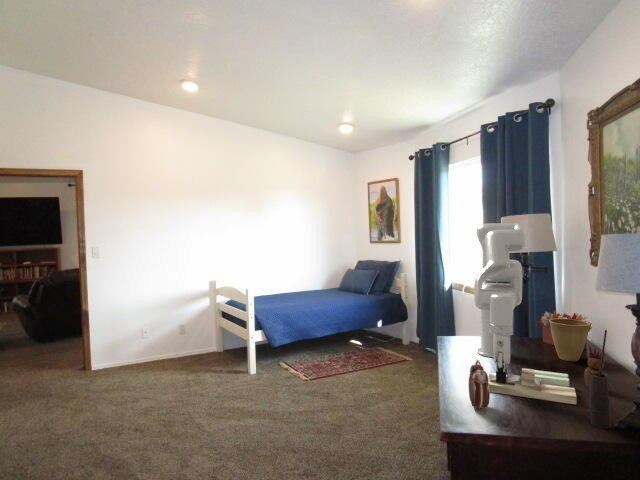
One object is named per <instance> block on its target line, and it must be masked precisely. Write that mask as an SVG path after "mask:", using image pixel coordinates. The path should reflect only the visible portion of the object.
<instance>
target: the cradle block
mask: <svg viewBox="0 0 640 480" xmlns="http://www.w3.org/2000/svg"><path fill="white" fill-rule="evenodd" d="M534 370H535V378H540V379H541V384H549V385H556V386H563V387H570V378H569V374H568V373H560V372H553V371H546V370H545V371H544V370H538V369H537V370H536V369H534Z"/></svg>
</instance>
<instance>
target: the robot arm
mask: <svg viewBox="0 0 640 480" xmlns="http://www.w3.org/2000/svg"><path fill="white" fill-rule="evenodd" d="M476 235H477V238H478V242H479V243H480V246H481V248H482V269H481V270H480V271H479V273H478V274H477V276H476V278H475V280H474V286H473V287H474V303H475V307H476V308H477V309H478V310H480V315H481V316H480V320H481V321H480V330H481V331H480V337H481V338H480V341H481V342H480V348H478V349H477V353H478V355H480V356H484V357H487V358H493V361H494V363H495V364H496V370H495V373H496V382H497V383H504V384H505V383H506V374H508V371H507V370H508V369H507V366H509V364H510V363H511V336H513V335H514V309H515V308H516V307H517V306H520V304H521V303H522V300H523V265H522V264H521V262H520V261H519V260H517V259H510V252H522V251H523V250H524V249H525V247H526V235H525V232H524V230H523V227H522V225H521V224H519V223H516V222H514V223H513V222H511V223H509V222H507V223H505V222H504V223H501V222H499V223H498V222H497V223H495V222H492V223H481V224H479V225H478V226H477V228H476ZM485 281H491V282H486V283H484V282H485ZM495 282H496V283H495ZM498 282H499V283H498ZM500 282H509V283H500Z"/></svg>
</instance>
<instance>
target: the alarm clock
mask: <svg viewBox="0 0 640 480" xmlns="http://www.w3.org/2000/svg"><path fill="white" fill-rule="evenodd" d="M488 376H489V374H488V372H486V371H485V369H484V367H483V366H482V364H481V362H480V360H478V359H477V360H476V361H475V364H472V365H471V366H470V367H469V377H468V395H469V400H470V404H471V406H472V407H473V408H474V411H475V412H476V411H477V408H481V409H482V408H483V410H484V413H487V408H488V407H489V404H490V398H491V397H490V396H491V395H490V394H491V393H490V390H489V382H488Z"/></svg>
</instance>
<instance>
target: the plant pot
mask: <svg viewBox="0 0 640 480" xmlns="http://www.w3.org/2000/svg"><path fill="white" fill-rule="evenodd" d="M590 325H591V324H590V322H587V321H584V320H582V319H581V320H578V319H575V318H574V319H572V318H552V319H551V318H550V319H549V326H550V332H551V338H552V341H553V345H554V348H555V351H556V354H557V356H558V358H559V359H560V360H563V361H568V362H578V361H579V360H580V358H581V356H582V354H583V351H584V350H585V349H584V348H585V345H586V342H587V339H588V336H589V335H588V334H589V329H590Z"/></svg>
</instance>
